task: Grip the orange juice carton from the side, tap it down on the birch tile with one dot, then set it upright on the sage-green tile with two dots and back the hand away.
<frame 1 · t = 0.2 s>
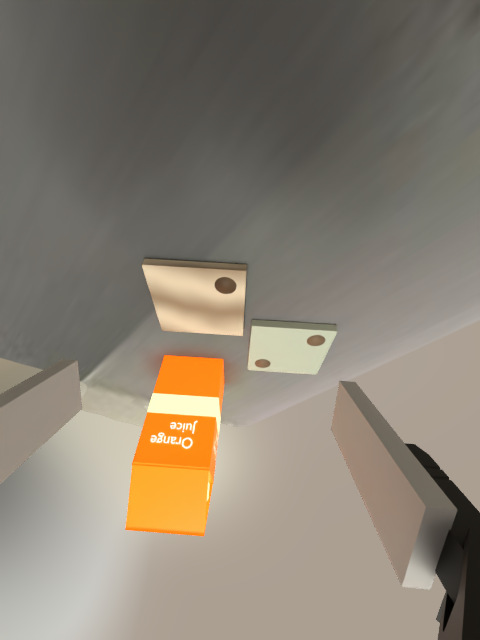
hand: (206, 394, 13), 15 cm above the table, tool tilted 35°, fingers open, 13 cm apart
tile two: (287, 346, 35), on the table
orange juice: (196, 369, 42), on the table
tile one: (200, 298, 29), on the table
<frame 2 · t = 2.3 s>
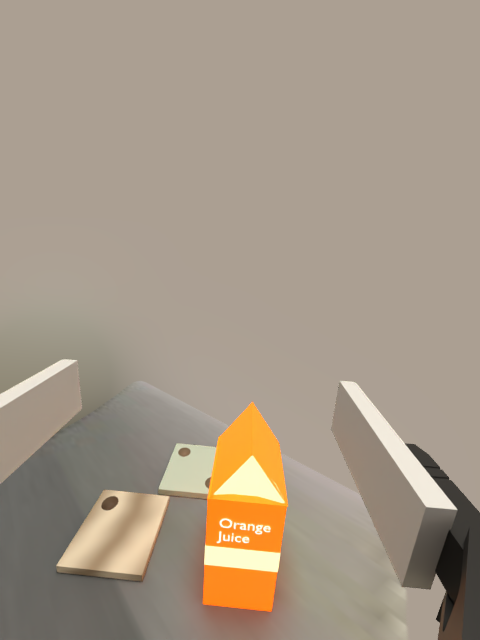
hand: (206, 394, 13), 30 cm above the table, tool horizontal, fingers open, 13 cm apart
tile two: (197, 471, 46), on the table
orange juice: (239, 563, 33), on the table
tile one: (120, 532, 35), on the table
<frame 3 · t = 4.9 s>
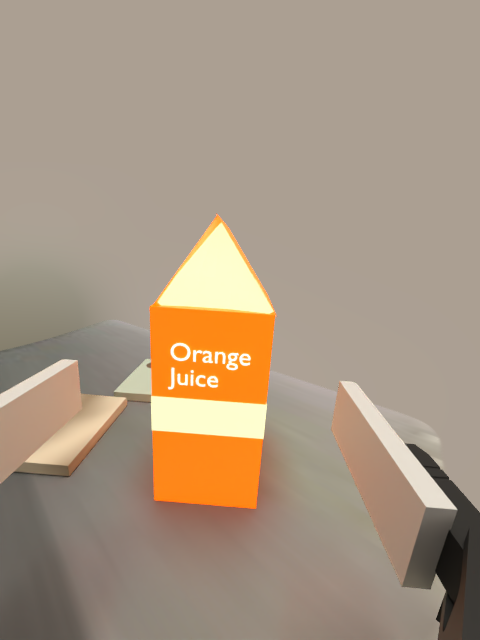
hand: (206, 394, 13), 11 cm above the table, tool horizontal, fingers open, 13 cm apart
tile two: (168, 382, 36), on the table
orange juice: (213, 461, 24), on the table
tile one: (53, 430, 26), on the table
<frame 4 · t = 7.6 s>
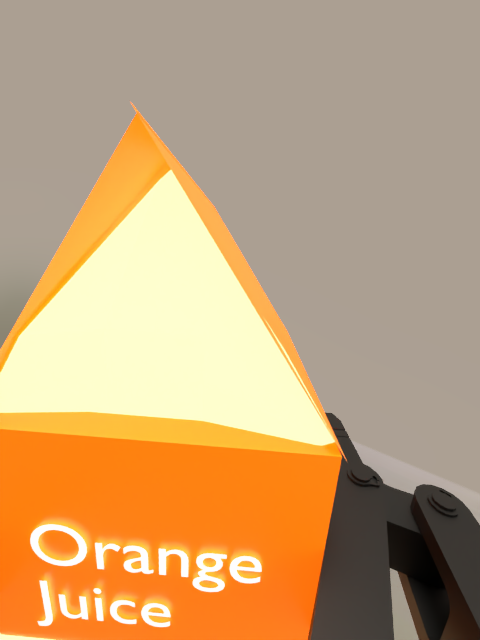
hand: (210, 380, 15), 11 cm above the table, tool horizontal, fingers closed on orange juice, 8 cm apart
orange juice: (187, 637, 13), on the table, touching gripper
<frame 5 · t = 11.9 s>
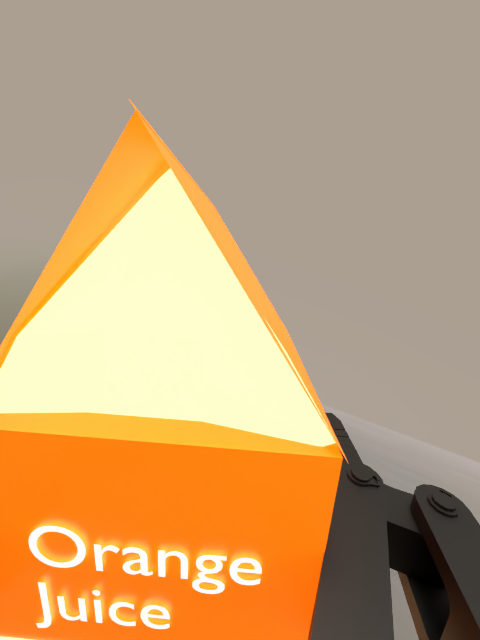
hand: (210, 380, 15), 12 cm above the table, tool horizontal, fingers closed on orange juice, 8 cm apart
orange juice: (187, 638, 13), point 1 cm above the table, touching gripper
when the fingers open (13 cm above the table, at t = 16.7 s): orange juice drops 1 cm, resting on tile two.
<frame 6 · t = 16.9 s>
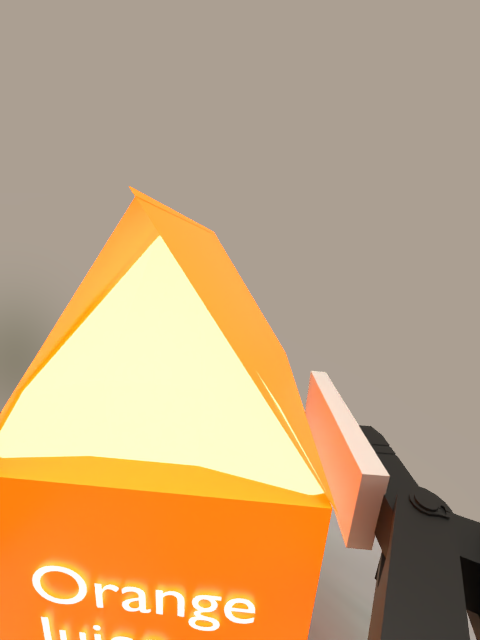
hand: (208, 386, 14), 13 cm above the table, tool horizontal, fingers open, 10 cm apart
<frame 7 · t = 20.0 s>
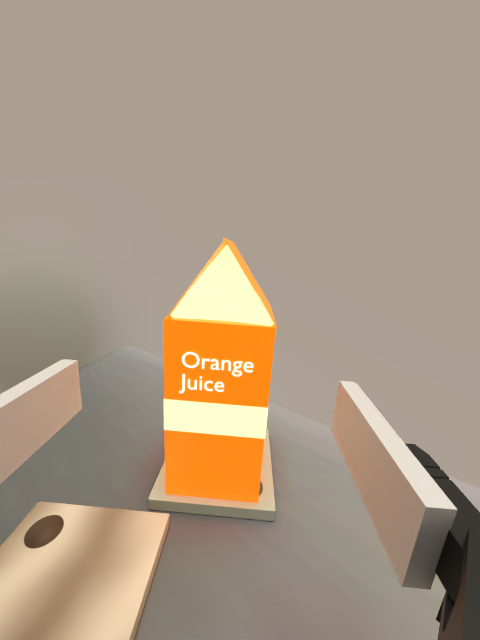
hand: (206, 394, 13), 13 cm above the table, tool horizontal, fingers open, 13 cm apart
tile two: (218, 465, 26), on the table
orange juice: (218, 459, 25), point 1 cm above the table, touching tile two
tile one: (57, 602, 15), on the table
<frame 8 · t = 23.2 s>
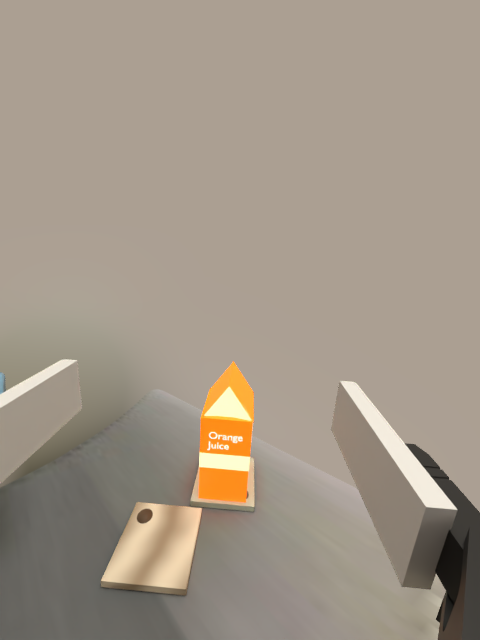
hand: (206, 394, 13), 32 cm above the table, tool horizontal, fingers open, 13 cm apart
tile two: (225, 482, 46), on the table
orange juice: (225, 478, 46), point 1 cm above the table, touching tile two
tile one: (158, 545, 36), on the table
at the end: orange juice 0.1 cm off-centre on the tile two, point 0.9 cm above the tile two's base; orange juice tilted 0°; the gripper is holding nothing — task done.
